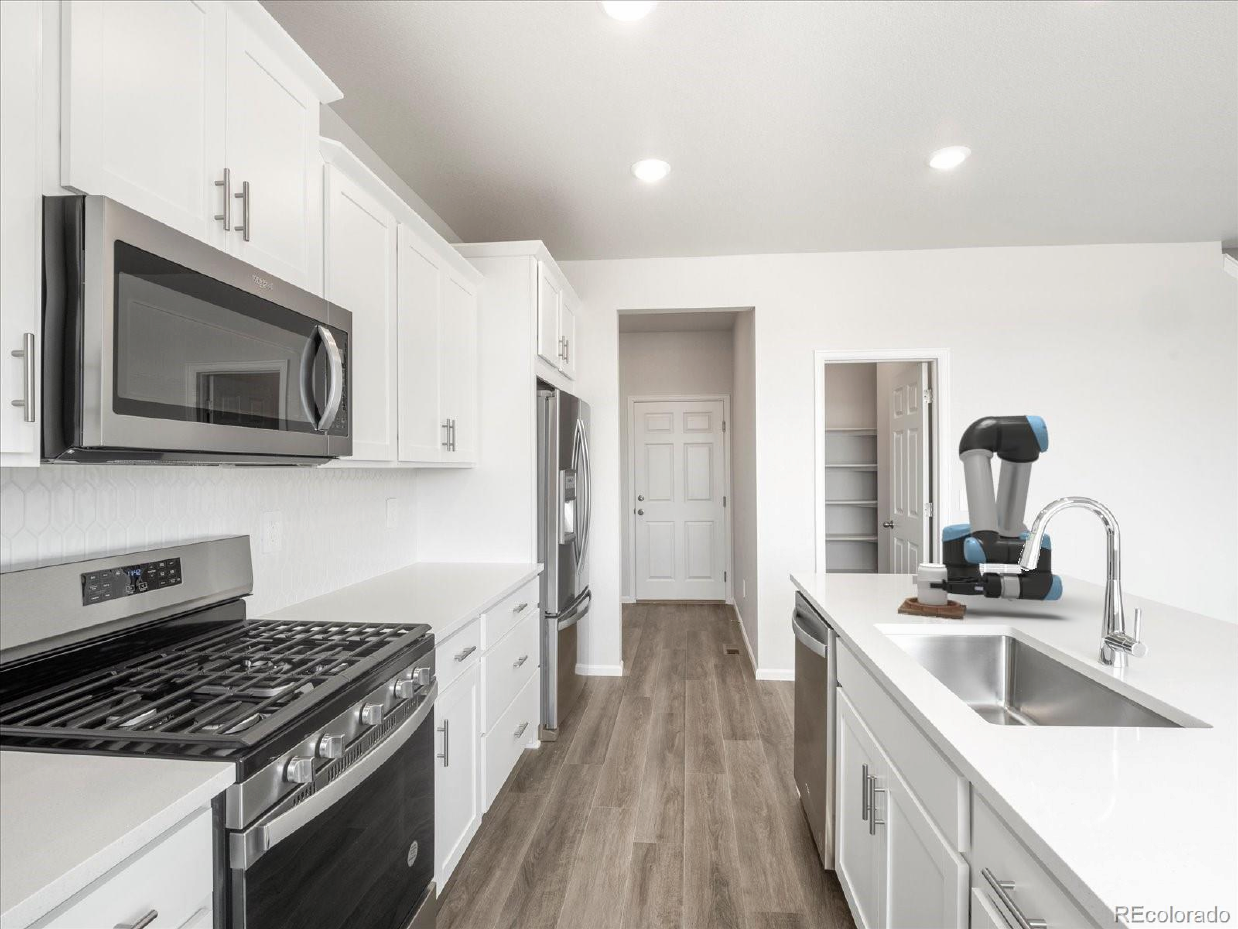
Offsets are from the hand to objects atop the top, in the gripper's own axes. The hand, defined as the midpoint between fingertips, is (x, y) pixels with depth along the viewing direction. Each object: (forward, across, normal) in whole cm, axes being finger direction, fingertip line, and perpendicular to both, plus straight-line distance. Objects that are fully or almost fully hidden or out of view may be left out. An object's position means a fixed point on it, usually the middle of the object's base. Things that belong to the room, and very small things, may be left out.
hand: (915, 582), depth 195 cm
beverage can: (-5, 0, -7) cm, 8 cm away
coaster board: (-5, 0, -9) cm, 10 cm away
